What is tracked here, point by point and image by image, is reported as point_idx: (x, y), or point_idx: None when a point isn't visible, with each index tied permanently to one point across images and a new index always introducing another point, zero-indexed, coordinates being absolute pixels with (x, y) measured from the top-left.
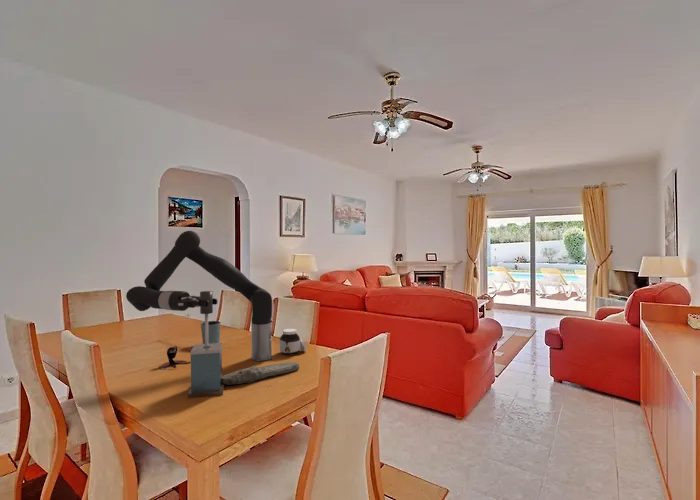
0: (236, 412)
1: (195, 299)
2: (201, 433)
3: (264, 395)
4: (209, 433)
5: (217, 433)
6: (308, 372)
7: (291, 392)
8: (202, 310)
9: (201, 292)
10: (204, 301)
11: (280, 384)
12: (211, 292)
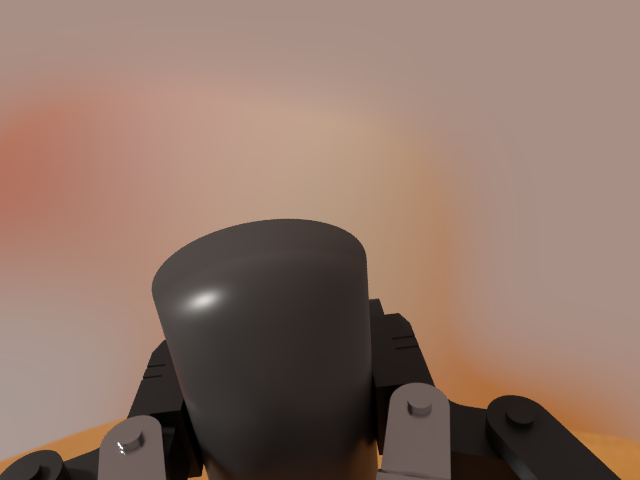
0: None
1: (399, 471)
2: (628, 476)
3: None
4: (606, 456)
5: (586, 438)
6: (70, 450)
7: None
8: (377, 469)
9: (364, 264)
10: (387, 331)
11: (201, 477)
12: (261, 228)
